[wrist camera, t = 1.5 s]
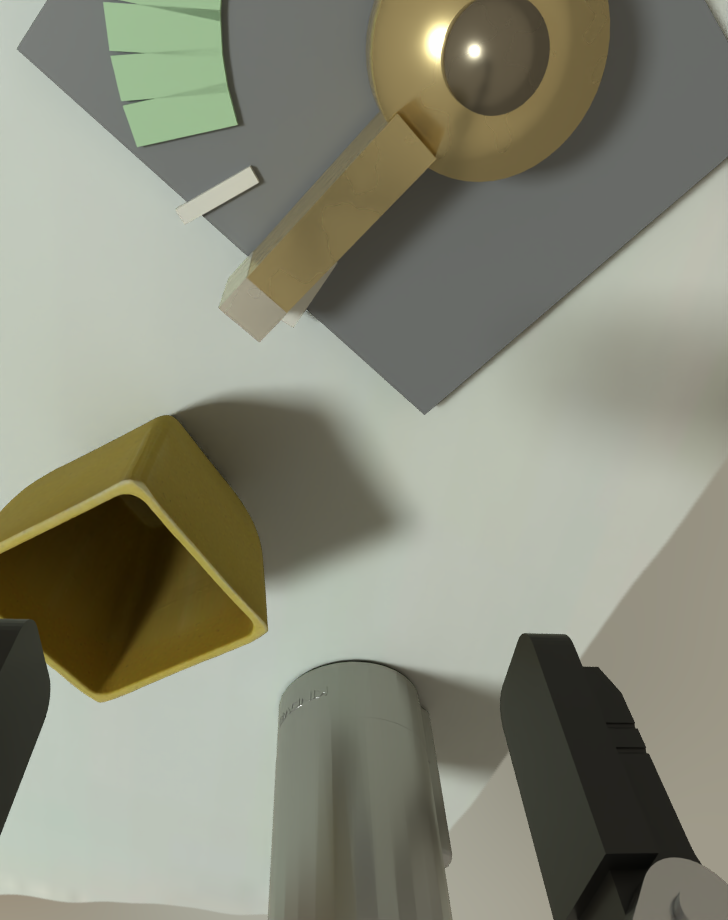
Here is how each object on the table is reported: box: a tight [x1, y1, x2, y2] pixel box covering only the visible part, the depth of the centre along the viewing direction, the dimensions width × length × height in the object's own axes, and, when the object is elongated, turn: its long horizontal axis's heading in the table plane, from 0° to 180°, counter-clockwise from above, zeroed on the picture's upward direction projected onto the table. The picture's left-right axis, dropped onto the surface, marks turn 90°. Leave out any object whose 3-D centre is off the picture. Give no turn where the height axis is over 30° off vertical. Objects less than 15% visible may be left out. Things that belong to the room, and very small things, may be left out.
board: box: [17, 0, 728, 415], centre depth 23 cm, size 21×18×2 cm
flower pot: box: [0, 415, 268, 702], centre depth 29 cm, size 9×9×9 cm
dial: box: [219, 0, 610, 342], centre depth 22 cm, size 15×7×4 cm, turn 135°
